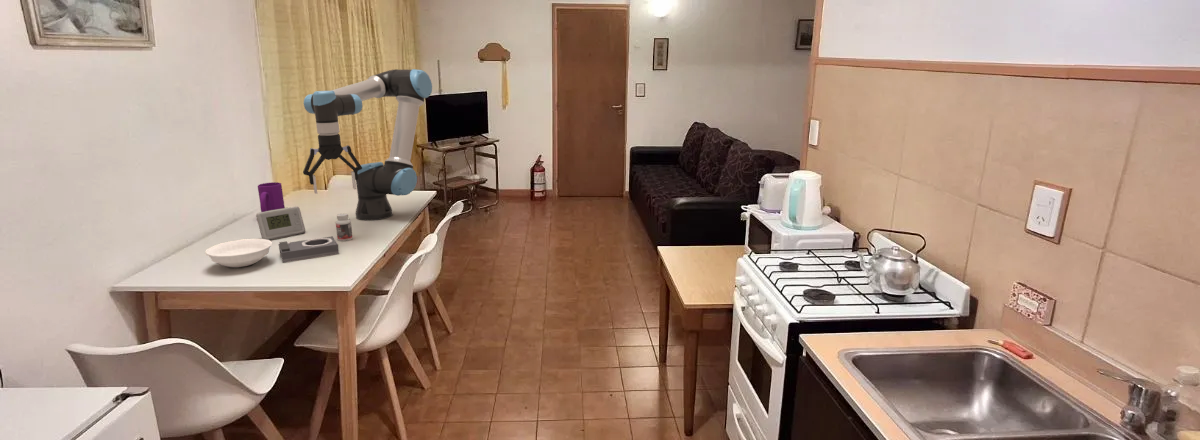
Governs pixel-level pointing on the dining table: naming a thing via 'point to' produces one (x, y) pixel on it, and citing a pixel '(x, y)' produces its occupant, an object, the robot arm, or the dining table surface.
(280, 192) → the mug
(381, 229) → the dining table surface
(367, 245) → the dining table surface
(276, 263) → the dining table surface
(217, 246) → the bowl
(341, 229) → the pill bottle
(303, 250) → the octagonal hole plate
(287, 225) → the digital clock
